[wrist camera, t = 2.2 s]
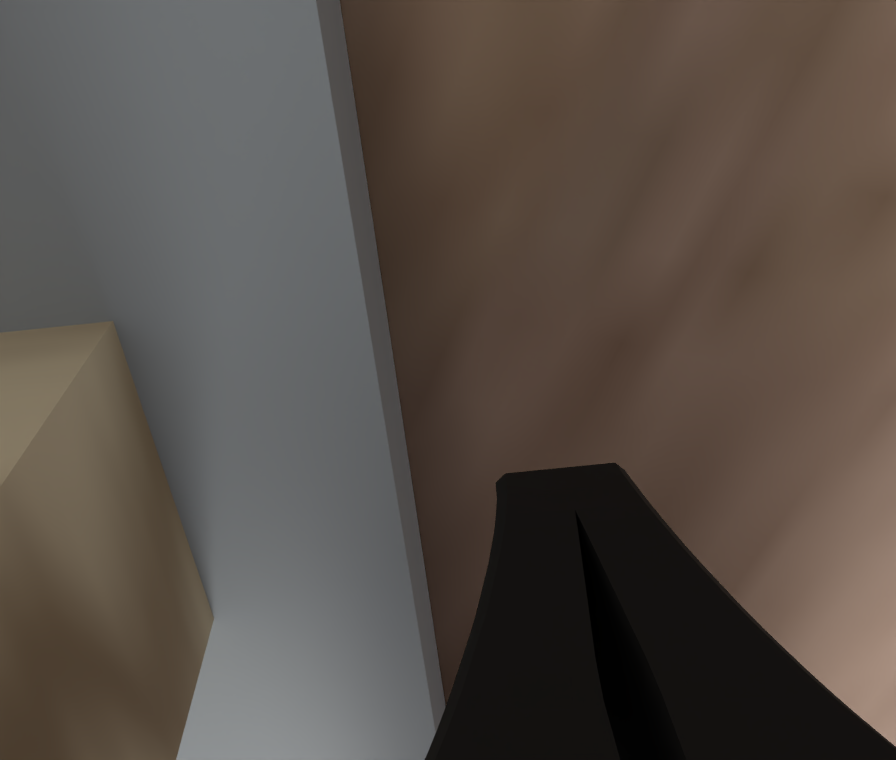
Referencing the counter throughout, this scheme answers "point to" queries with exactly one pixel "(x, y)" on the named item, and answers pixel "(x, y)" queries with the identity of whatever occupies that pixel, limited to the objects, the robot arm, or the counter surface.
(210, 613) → the wood block
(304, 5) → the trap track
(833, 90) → the counter surface
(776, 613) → the counter surface
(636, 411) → the counter surface
